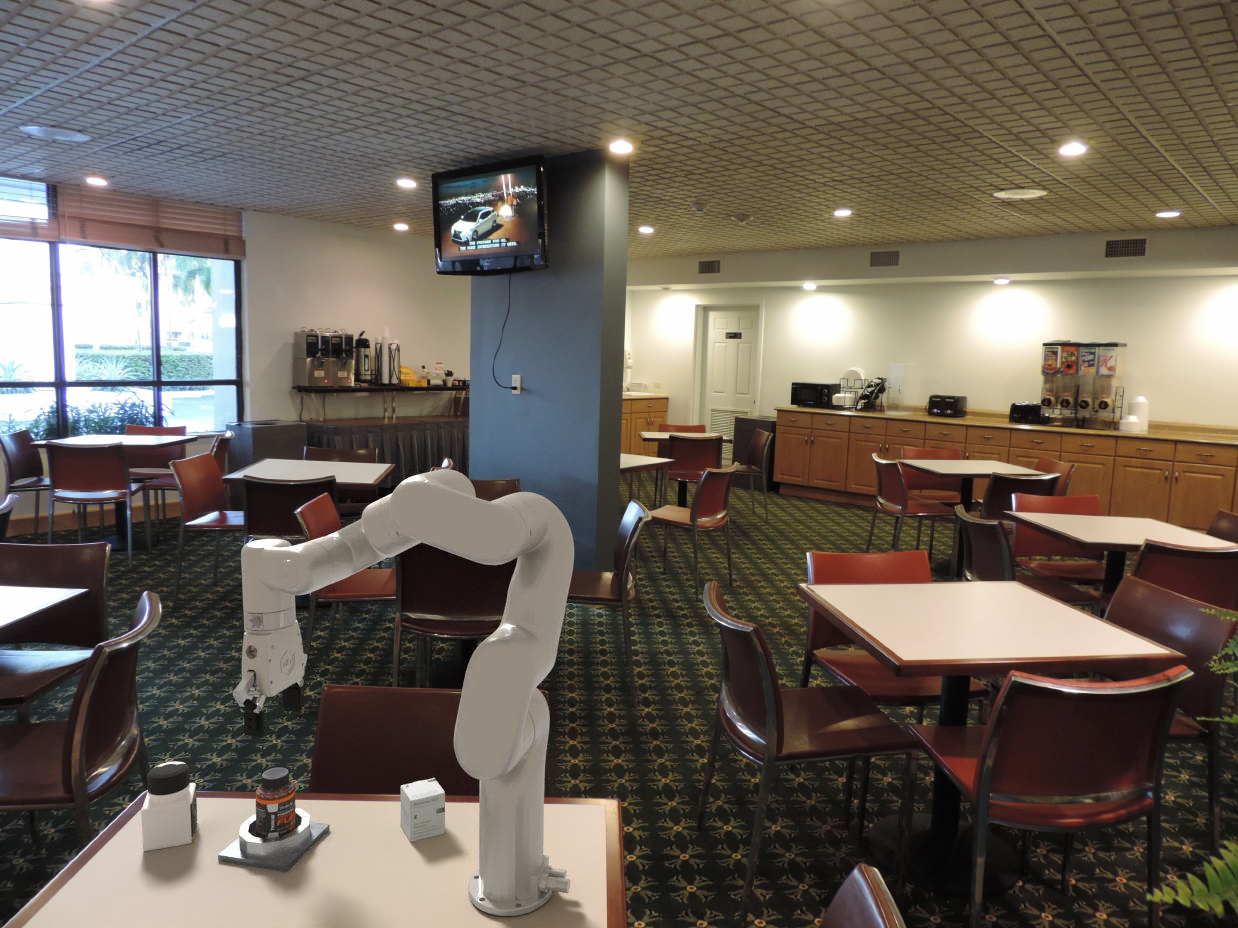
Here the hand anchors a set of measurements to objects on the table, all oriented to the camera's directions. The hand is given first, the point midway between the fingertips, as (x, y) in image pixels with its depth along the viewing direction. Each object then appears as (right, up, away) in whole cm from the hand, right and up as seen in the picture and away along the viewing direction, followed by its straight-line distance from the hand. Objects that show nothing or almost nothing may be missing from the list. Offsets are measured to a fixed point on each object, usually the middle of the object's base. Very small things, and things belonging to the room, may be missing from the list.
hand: (274, 722), depth 131 cm
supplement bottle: (-1, -20, +2) cm, 20 cm away
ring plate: (-1, -21, +2) cm, 21 cm away
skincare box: (+22, -21, +8) cm, 31 cm away
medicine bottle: (-19, -20, +4) cm, 28 cm away
